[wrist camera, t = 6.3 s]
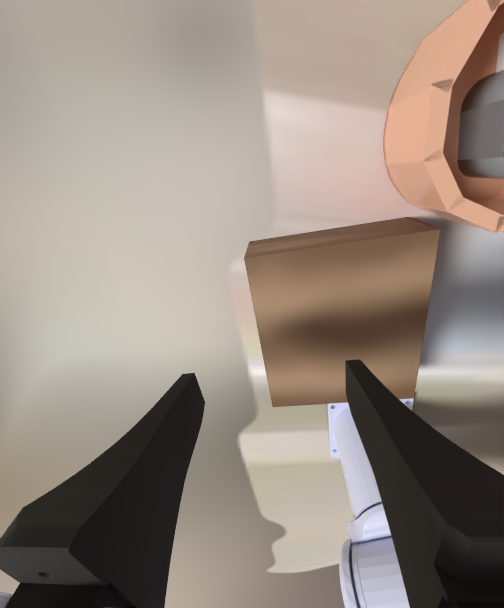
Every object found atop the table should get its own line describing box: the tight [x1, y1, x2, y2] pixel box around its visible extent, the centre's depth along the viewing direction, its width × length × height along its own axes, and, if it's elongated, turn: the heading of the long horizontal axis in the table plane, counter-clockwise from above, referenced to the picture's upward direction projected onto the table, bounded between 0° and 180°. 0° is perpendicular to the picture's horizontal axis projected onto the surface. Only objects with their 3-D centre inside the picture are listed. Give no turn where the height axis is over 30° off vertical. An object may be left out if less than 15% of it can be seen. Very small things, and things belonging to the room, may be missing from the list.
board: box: [244, 217, 441, 407], centre depth 19 cm, size 13×11×4 cm
